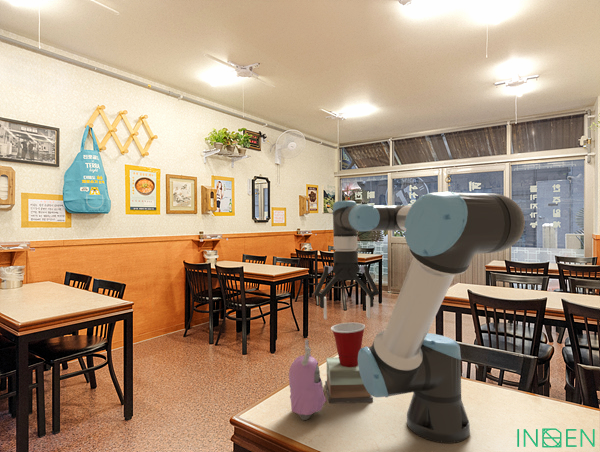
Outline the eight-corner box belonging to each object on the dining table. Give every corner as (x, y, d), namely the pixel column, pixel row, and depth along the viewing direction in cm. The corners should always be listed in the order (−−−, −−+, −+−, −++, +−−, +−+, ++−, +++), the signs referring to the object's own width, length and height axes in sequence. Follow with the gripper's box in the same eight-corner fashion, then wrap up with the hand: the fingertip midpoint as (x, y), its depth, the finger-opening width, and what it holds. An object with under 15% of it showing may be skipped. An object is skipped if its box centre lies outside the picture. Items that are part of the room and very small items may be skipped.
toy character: (323, 427, 95) (322, 350, 95) (284, 424, 97) (283, 348, 97) (329, 405, 107) (328, 336, 107) (294, 402, 109) (293, 335, 109)
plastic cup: (332, 357, 122) (331, 321, 122) (365, 358, 120) (364, 321, 120) (330, 369, 111) (329, 329, 111) (366, 371, 109) (365, 330, 109)
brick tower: (372, 401, 109) (372, 371, 109) (329, 402, 109) (328, 372, 109) (364, 383, 122) (363, 356, 122) (325, 384, 122) (324, 357, 122)
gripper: (382, 249, 120) (383, 314, 119) (305, 250, 119) (306, 316, 119) (388, 250, 112) (389, 319, 112) (306, 251, 112) (307, 321, 111)
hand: (346, 318), depth 115 cm, fingers open, 13 cm apart
